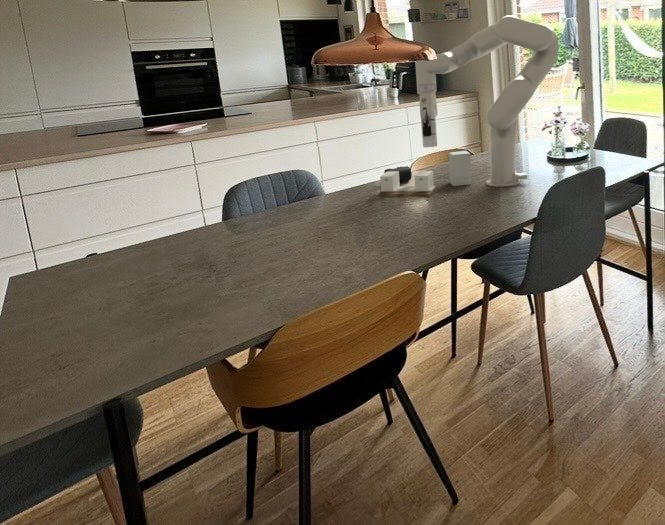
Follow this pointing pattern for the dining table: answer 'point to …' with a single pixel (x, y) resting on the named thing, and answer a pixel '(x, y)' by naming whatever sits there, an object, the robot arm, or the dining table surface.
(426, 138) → the syrup box
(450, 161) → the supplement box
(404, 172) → the end cap
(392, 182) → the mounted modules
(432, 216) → the dining table surface
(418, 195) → the rail board
